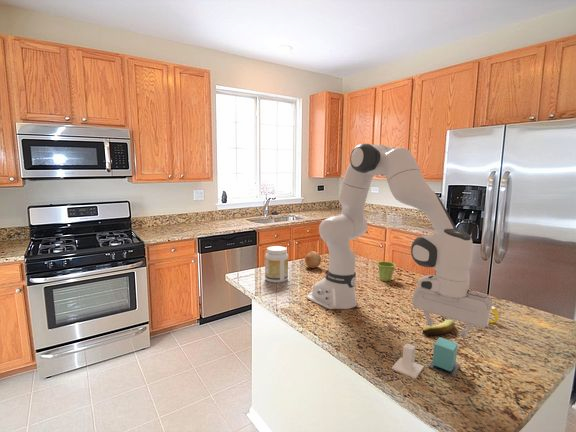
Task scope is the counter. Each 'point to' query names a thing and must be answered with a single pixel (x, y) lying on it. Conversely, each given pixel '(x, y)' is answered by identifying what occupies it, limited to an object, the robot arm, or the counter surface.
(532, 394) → the counter surface
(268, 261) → the supplement tub
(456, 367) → the post
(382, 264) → the plant pot
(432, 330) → the banana
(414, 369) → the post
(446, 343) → the teal rectangular block
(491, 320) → the watch
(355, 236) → the robot arm
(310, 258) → the brown round ball
